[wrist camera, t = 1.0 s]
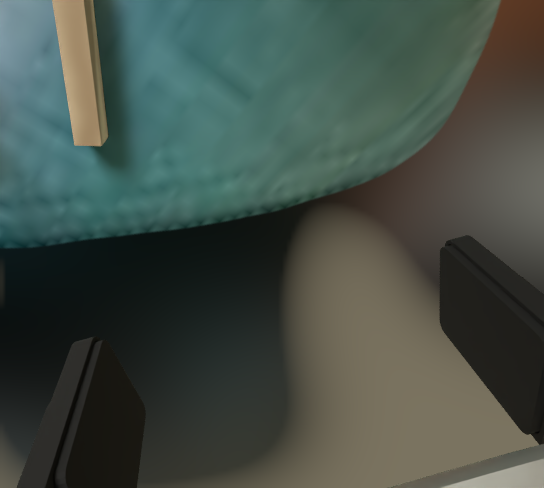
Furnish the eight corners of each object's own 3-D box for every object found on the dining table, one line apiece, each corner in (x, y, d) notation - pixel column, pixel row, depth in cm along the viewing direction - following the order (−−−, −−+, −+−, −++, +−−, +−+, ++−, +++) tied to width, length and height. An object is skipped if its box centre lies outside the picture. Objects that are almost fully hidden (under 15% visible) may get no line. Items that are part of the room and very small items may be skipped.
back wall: (83, 135, 35) (74, 145, 32) (54, -68, 28) (40, -77, 25) (108, 136, 35) (101, 146, 32) (85, -65, 28) (74, -73, 26)
